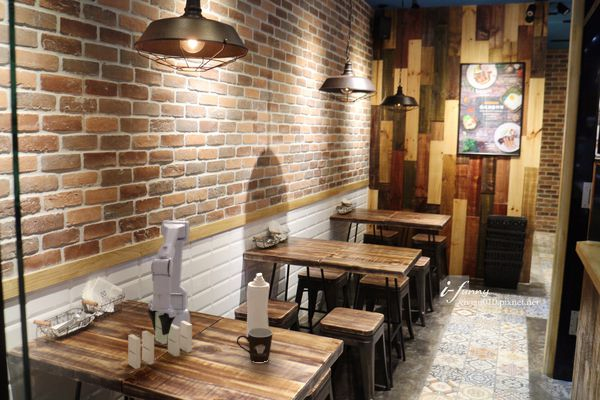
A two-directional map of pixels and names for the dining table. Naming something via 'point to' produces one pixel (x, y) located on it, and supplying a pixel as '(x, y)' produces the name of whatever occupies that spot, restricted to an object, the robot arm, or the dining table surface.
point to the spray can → (257, 303)
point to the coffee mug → (258, 344)
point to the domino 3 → (159, 329)
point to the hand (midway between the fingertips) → (161, 331)
